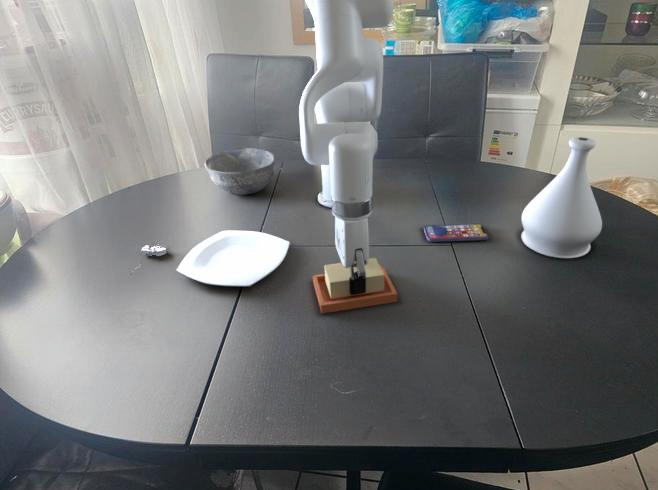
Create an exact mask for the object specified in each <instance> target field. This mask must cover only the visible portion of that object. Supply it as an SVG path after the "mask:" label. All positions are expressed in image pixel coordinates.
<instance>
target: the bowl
mask: <svg viewBox="0 0 658 490" xmlns="http://www.w3.org/2000/svg"><path fill="white" fill-rule="evenodd" d="M275 162H276V157H275V155H274V154H273V153H272V152H270V151H268V150H265V149H263V148H255V147H238V148H234V149H233V148H232V149H230V150H227V151H220V152H217V153H215V154H212V155H211V156H209V157H208V158H206V159H205V161H204V166H203V167H204V168H205V169H206V171H207V172H208V174H209V177H210V181H211V182H212V183H213V184H214V185H216V186H217V187H218V188H220V189H222V190H223V191H224V192H227V193H230V194H233V195H251V194H255V193H258V192H260V191H262V190H263V189H266V188H267V187H268V186H269V184H270V183H271V182H272V181H273V180H272V179H273V178H274V176H275V170H274V169H275V168H274V166H275Z"/></svg>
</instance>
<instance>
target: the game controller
mask: <svg viewBox="0 0 658 490" xmlns="http://www.w3.org/2000/svg"><path fill="white" fill-rule="evenodd" d="M157 245H158V244H157V243H155V244H154V246H152V247H151V245H149V244H148V245H145V246H143V247H142V248H141V254H142V255H144V256H147V258H148V257H153V256H152V255H146V254H143V253H142V251H143V252H145V253H149V254H160V253H162V252H163V251H165V250H166V251H165V252H164V253H162V254H161V255H156V256H155V257H161V256H163V255H166V254H167V253H168V252H167V248H166V247H164V246H163V245H162V247H161V246H157ZM160 247H161V248H160ZM140 267H141V265H139V266H138V267H136V268H134V270H137V269H139V268H140ZM132 273H133V271H131V272H130V274H132Z"/></svg>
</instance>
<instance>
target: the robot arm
mask: <svg viewBox="0 0 658 490" xmlns="http://www.w3.org/2000/svg"><path fill="white" fill-rule="evenodd" d="M305 2H306V5H307V7H308V9H309V11H310V13H311V16H312V18H313V22H314V31H315V32H314V33H315V48H316V49H315V50H316V64H317V70H316V72H315V73H314V74H313V76H312V77H311V78H310V80H309V82H307V84H306V86H305V88H304V90H303V92H302V96H301V97H300V98H301V99H300V103H299V109H298V110H299V111H298V118H299V133H300V136H299V137H300V147H301V153H302V156H303V159H304V160H305V161H306V162H307V163H308V164H309V165H312V166H320V168H321V169H320V170H321V185H322V190H321V191H320V192H319V194H318V195H317V201H318V203H319V204H320V205H322V206H324V207H327V208H331V214H332V215H333V216H334V235H335V236H334V237H335V238H334V244H335V245H334V246H335V248H336V252H337V254H338V257H339V259H340V263H342V264H343V266H344V267H345V268H348V267H350V274H351V277H349V287H350V294H351V295H356V294H362V293H365V292H366V271H365V265H367V264H368V262H369V259H370V238H369V237H370V236H369V235H370V234H369V218H368V217H370V216H371V215H372V214H373V162H374V161H373V160H374V157H375V154H377V152H378V146H379V139H378V132H377V130H375V127H374V126H373V125H372V123H370V122H374V121H375V122H376V120H378V119H379V118H380V115H381V112H382V106H383V105H382V103H383V86H384V85H383V83H384V51H383V48H382V45H381V43H380V42H379V41H378V40H377V39H375V38H370V37H364V30H363V29H383V28H386V27H388V26H389V24H390V23H391V21H392V19H393V16H394V9H395V1H394V0H305ZM315 116H316V122H317V123H316V122H315ZM353 261H356V263H353ZM353 267H357V272H355V273H354V268H353Z"/></svg>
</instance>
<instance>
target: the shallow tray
mask: <svg viewBox="0 0 658 490" xmlns="http://www.w3.org/2000/svg"><path fill="white" fill-rule="evenodd" d="M379 266H380V268H381V270H382V271H383V273H384V291H379V292H372V293H366V294H359V295H353V296H346V297H340V298H333V299H331V298H330V294H329V291H328V288H327V285H326V281H325V273H319V274H314V275H312V284H313V287H314V291H315V294H316V298H317V302H318V306H319V309H320V314H328V313H334V312H340V311H341V312H342V311H347V310H354V309H360V308H366V307H372V306H373V307H374V306H379V305H384V304H391V303H392V304H393V303H398V292H397V290H396V288H395V286H394V284H393V283H392V280H391V279H390V277H389V274H388V273H387V270H386V268H385V266H384V265H379Z"/></svg>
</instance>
